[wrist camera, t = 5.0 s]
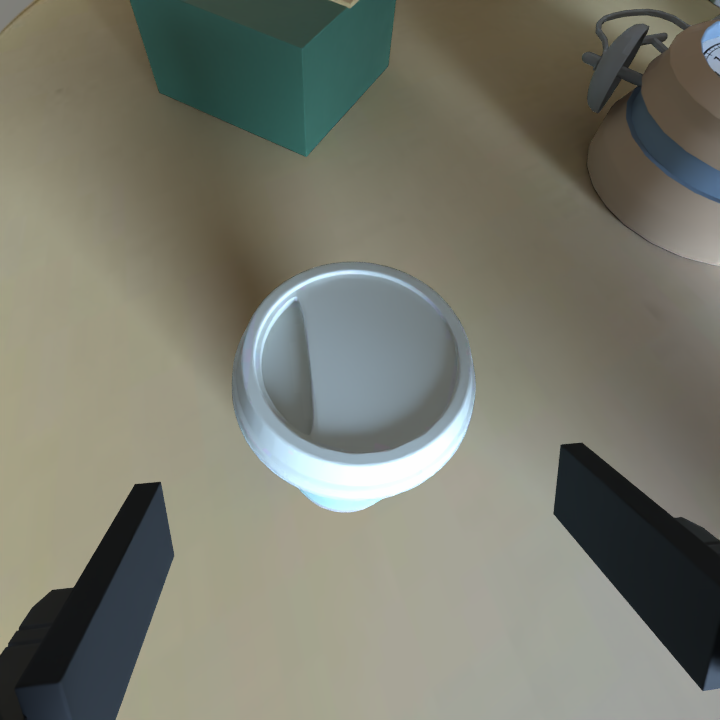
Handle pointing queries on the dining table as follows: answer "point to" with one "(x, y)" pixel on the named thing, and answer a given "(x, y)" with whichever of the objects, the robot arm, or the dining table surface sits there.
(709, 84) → the alarm clock
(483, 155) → the dining table surface
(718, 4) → the green gift bag
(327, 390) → the coffee cup
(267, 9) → the green parcel box
